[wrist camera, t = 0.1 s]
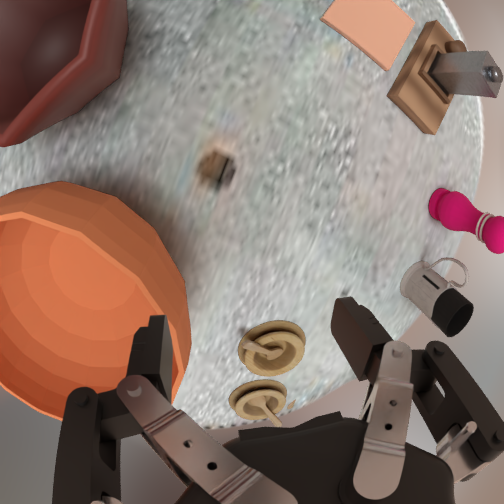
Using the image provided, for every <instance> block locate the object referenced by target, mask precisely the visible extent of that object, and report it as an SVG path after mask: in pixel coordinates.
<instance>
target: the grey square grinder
mask: <svg viewBox="0 0 504 504" xmlns="http://www.w3.org/2000/svg"><path fill="white" fill-rule="evenodd" d="M427 74H428V75H429V76H430V77H431V78H432V79H433V80H434V82H435V83H436V84H437V85H438V86H439V88H440V89H441V90H442V91H443V92H444V94H460V95H473V96H484V97H493V98H496V97H497V95H498V92H499V89H500V85H501V82H502V80H503V75H502V72H501V70H500V68H499V67H498V66H497V65H496V63H495V61H494V60H493V58H492V57H491V55H490V54H489V52H488V51H469V52H454V53H444V54H436V55H435V58H434V60H433V62H432V64H431V66H430V68H429V70H428V72H427Z"/></svg>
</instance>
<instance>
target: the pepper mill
mask: <svg viewBox="0 0 504 504" xmlns="http://www.w3.org/2000/svg"><path fill="white" fill-rule="evenodd" d="M429 212H430V214H431V216H432V217H433V218H435V219H436V220H438V221H441V223H442V225H443V226H444V227H445V228H447V229H450V230H453V231H467V232H471V233H473V234H475V235H476V237H477V239H478V240H479V241H481V242H482V243H485V244H486V247H487V248H488V249H489V250H490V251H491V252H493V253H496V254H501V253H503V252H504V217H502V216H496V217H495V216H494V215H492V214H490V213H488V212H487V213H482V212H480V211H479V210H477V209H476V208H475V207H474V206H473V205H472V203H471V202H470V201H469V200H468V198H467V197H466V196H464V195H463V194H461V193H460V192H457V191H453V192H450V191H448V190H446V189H444V188H439V189H437V190H436V191H435V192H434V193H433V194H432V196H431V198H430V201H429Z"/></svg>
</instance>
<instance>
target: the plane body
mask: <svg viewBox="0 0 504 504" xmlns="http://www.w3.org/2000/svg"><path fill="white" fill-rule="evenodd" d="M454 52H467V50H466V47H465V45H464V43H463V42H462V41H460V40H456V41H455V40H454V39H453V38H452V37H451V36H450V34H449V33H448V32H447V31H446V30H445V29H444V27H443V26H442V25H441V24H440V23H439V22H438V21H437V20H435V21H431V22H426V24H425V26H424V28H423V30H422V32H421V34H420V36H419V38H418V39H417V41H416V43H415V45H414V47H413V49H412V51H411V53H410V55H409V56H408V58H407V60H406V62H405V64H404V66H403V67H402V69H401V71H400V73H399V75H398V77H397V78H396V80H395V82H394V84H393V86H392V87H391V89H390V91H389V93H388V94H387V97H388V98H389V99H391V100H392V101H393V102H394V103H395V104H396V105H397V106H398V107H399V108H400V109H401V110H402V111H403V112H404V113H405V114H406V115H407V116H408V117H409V118H410V119H411V120H412V121H413V122H414V123H415V124H416V125H417V126H418V127H419V129H420V130H421V131H422V132H423V133H426V134H432V135H435V134H436V132H437V130H438V128H439V126H440V124H441V122H442V120H443V118H444V116H445V113H446V111H447V109H448V107H449V105H450V103H451V100H452V98H453V96H454V94H444V92H443V91H442V90H441V89H440V88H439V86H438V85H437V84H436V83H435V82H434V80H433V79H432V78H431V77H430V76H429V75H428V74H427V72H428V70H429V68H430V66H431V64H432V62H433V60H434V58H435V55H436V54H444V53H454Z"/></svg>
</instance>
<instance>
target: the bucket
mask: <svg viewBox="0 0 504 504" xmlns="http://www.w3.org/2000/svg"><path fill="white" fill-rule="evenodd" d="M128 29H129V27H128V15H127V0H0V147H7V146H11V145H16V144H20V143H23V142H24V141H26V140H27V139H29V138H31V137H32V136H34V135H36V134H37V133H39V132H41V131H43V130H44V129H46V128H48V127H50V126H52V125H54V124H55V123H57V122H59V121H61V120H63V119H65V118H67V117H69V116H71V115H73V114H75V113H77V112H79V111H80V110H81V109H82V108H83V107H84V106H85V105H86V104H88V103H89V102H90V101H91V100H92V99H93V98H95V97H96V96H97V95H98V94H99V93H101V92H102V91H103V90H104V89H106V88H107V87H108V86H109V85H111V84H112V83H113V82H114V81H116V80H117V79H118V78H120V73H121V66H122V60H123V55H124V49H125V44H126V39H127V34H128Z"/></svg>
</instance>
